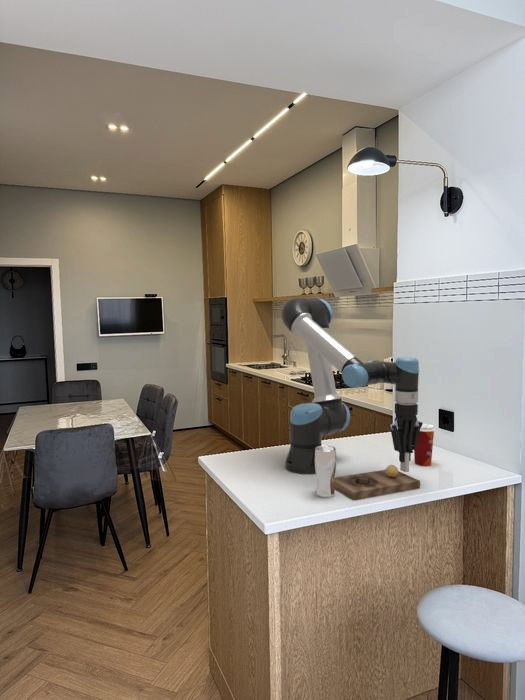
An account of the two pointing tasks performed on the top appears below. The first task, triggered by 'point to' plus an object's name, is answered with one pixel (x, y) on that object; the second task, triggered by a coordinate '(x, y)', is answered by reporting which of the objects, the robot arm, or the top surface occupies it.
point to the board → (374, 484)
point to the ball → (391, 470)
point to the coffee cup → (424, 445)
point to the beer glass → (325, 470)
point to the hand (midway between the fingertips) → (404, 470)
